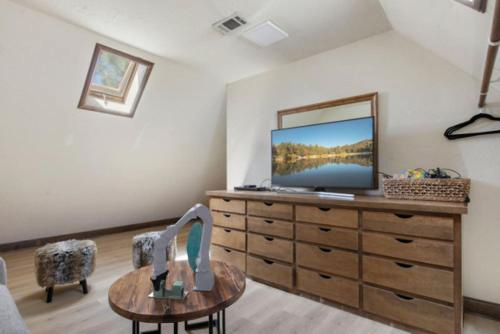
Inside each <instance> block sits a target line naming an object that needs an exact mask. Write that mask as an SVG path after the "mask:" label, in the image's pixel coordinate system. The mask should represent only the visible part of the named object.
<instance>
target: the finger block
mask: <svg viewBox="0 0 500 334" xmlns="http://www.w3.org/2000/svg"><path fill="white" fill-rule="evenodd" d="M166 283H167V279H166V280H161V283H160V290H159V291H155V290H154V286H153V285H152V292H153V295H156V296H162V295H163V289H167V284H166Z"/></svg>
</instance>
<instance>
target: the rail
mask: <svg viewBox="0 0 500 334" xmlns="http://www.w3.org/2000/svg"><path fill="white" fill-rule="evenodd" d="M189 292H190V291H188V290H187V291H185V281H183V280H176V281H174V283H172V284H171V288H166V289H163V295H162V296H156V295H153V291H152V292H151V293H150V294H149V295H148V296H147V298H157V299H175V300H184V299H186V297H187V296H188V295H189Z"/></svg>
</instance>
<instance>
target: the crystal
mask: <svg viewBox="0 0 500 334" xmlns="http://www.w3.org/2000/svg"><path fill="white" fill-rule="evenodd" d="M202 231H203V225H202V224H201V223H200V222H195V223H193V224H192V227H191V228H190V230H189V231H188V232H189V233H188V235H187V241H186V246H185V247H186V248H185V249H186V254H187V259H188V260H187V262H188V265H189V267H190V268H191V269H192V271H193V272H194V273H196V268H197V265H196V263H195V260H196V258H197V257H198V253H199V251H200V245H201V238H202Z"/></svg>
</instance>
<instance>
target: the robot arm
mask: <svg viewBox="0 0 500 334" xmlns="http://www.w3.org/2000/svg"><path fill="white" fill-rule="evenodd" d="M197 218H200V219H201V221H203V224H202V227H203V231H202V238H201V245H200V251H199V253H198V257H197V258H196V260H195V263H196V265H197V268H196V272H195V286H194V287H193V288H192V291H203V292H204V291H205V292H210V291H212V290H213V288H214V286H215V271H214V270H210V269H211V262H210V258H211V257H210V248H211V247H210V246H211V241H212V234H213V226H214V218H213V216H212V213H211V210H210V209H209V208H208V207H207V206H206V205H204V204H202V203H200V202H199V203H195V205H194V206H193V207H190V209H188V211H187V212H186V213H185V214H184V215H183V216H182V217H181V218H180V219H179V220H178V221H177V222H176V223H175V224H171V225H168V226H166V229H165V230H164V231H162V233H159V234H158V236H156V237H155V238H154V241H153V245H154V252H153V268H152V269H151V272H152V274H151V275H150V277H149V280H150V281H151V283H152V287H153V286H154V290H155V291H159V290H160V283H161V280H166V281H167V278H168V275H169V274H170V270H169V269H168V268H169V264H167V250H166V249H167V246H168V243H170V242H172V240H173V239H174V238H175V237H176V236H177V235H178V234H179V230H180V229H181V228H182V227H183V226H184V225H186V224H187V223H188V222H189V221H190V220H192V219H193V220H194V219H197Z"/></svg>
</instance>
